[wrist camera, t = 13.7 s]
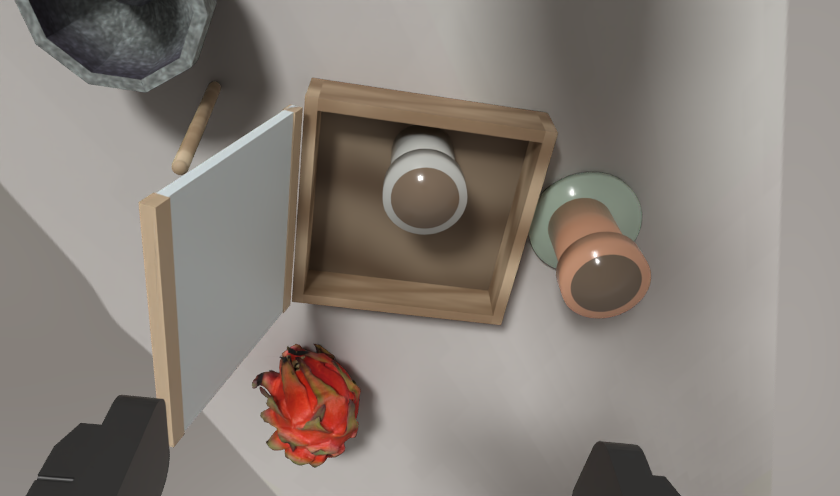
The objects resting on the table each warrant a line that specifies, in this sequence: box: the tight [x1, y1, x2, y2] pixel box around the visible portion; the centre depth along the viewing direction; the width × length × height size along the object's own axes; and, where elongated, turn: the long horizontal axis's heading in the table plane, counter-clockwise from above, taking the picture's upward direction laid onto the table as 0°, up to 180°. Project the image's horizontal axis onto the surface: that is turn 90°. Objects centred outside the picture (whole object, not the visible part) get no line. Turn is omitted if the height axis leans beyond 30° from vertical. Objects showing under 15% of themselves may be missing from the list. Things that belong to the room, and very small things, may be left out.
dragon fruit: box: [252, 344, 361, 468], centre depth 53 cm, size 8×8×12 cm
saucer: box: [528, 172, 642, 268], centre depth 48 cm, size 8×8×1 cm
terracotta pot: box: [548, 198, 651, 318], centre depth 44 cm, size 6×6×7 cm
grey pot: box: [383, 125, 467, 235], centre depth 41 cm, size 5×5×7 cm
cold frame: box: [172, 78, 558, 325], centre depth 41 cm, size 16×23×12 cm
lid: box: [139, 104, 302, 447], centre depth 36 cm, size 15×14×1 cm
